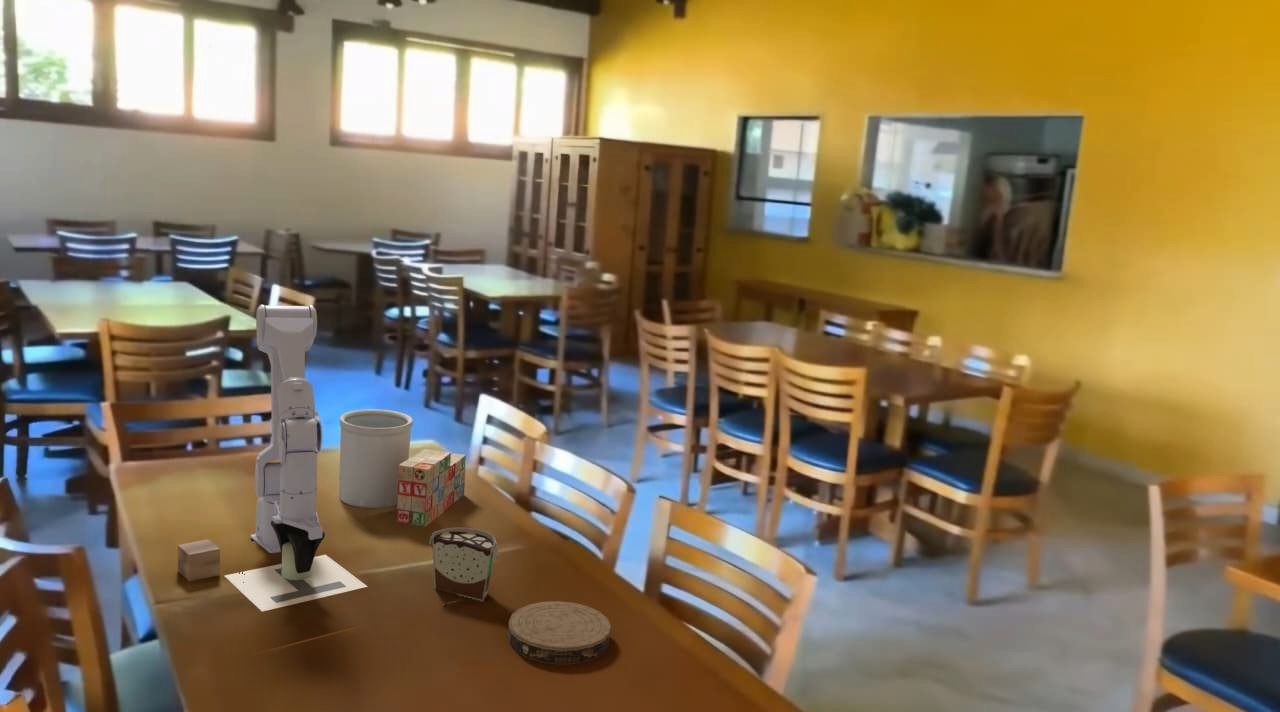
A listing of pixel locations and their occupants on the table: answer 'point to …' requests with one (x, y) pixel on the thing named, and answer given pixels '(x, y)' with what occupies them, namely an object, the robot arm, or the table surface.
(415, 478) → the stack of blocks
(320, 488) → the table surface
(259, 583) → the board
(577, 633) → the beige round flat disc
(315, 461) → the robot arm
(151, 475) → the table surface
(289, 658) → the table surface
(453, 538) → the food container
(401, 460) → the utensil holder
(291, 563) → the sage cylinder
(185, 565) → the wooden cube
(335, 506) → the table surface
